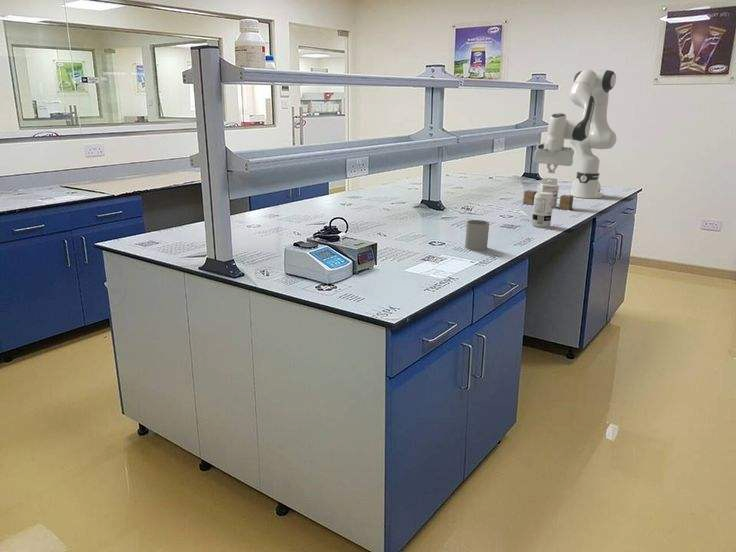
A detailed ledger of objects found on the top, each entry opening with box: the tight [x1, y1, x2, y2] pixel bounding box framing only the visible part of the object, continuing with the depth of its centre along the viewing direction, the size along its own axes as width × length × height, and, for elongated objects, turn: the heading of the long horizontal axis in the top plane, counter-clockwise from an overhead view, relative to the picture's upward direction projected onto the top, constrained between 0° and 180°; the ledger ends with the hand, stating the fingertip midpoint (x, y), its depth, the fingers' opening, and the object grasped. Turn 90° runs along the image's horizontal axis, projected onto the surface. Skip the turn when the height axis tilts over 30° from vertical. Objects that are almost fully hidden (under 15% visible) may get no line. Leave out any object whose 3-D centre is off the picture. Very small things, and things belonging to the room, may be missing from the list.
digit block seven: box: [522, 189, 538, 206], centre depth 310 cm, size 5×5×7 cm
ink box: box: [539, 177, 559, 208], centre depth 303 cm, size 9×5×15 cm, turn 84°
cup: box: [464, 219, 490, 252], centre depth 217 cm, size 8×8×10 cm
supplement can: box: [531, 191, 554, 229], centre depth 257 cm, size 8×8×15 cm
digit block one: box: [558, 194, 575, 211], centre depth 298 cm, size 5×5×7 cm
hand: (551, 173), depth 299 cm, fingers closed
